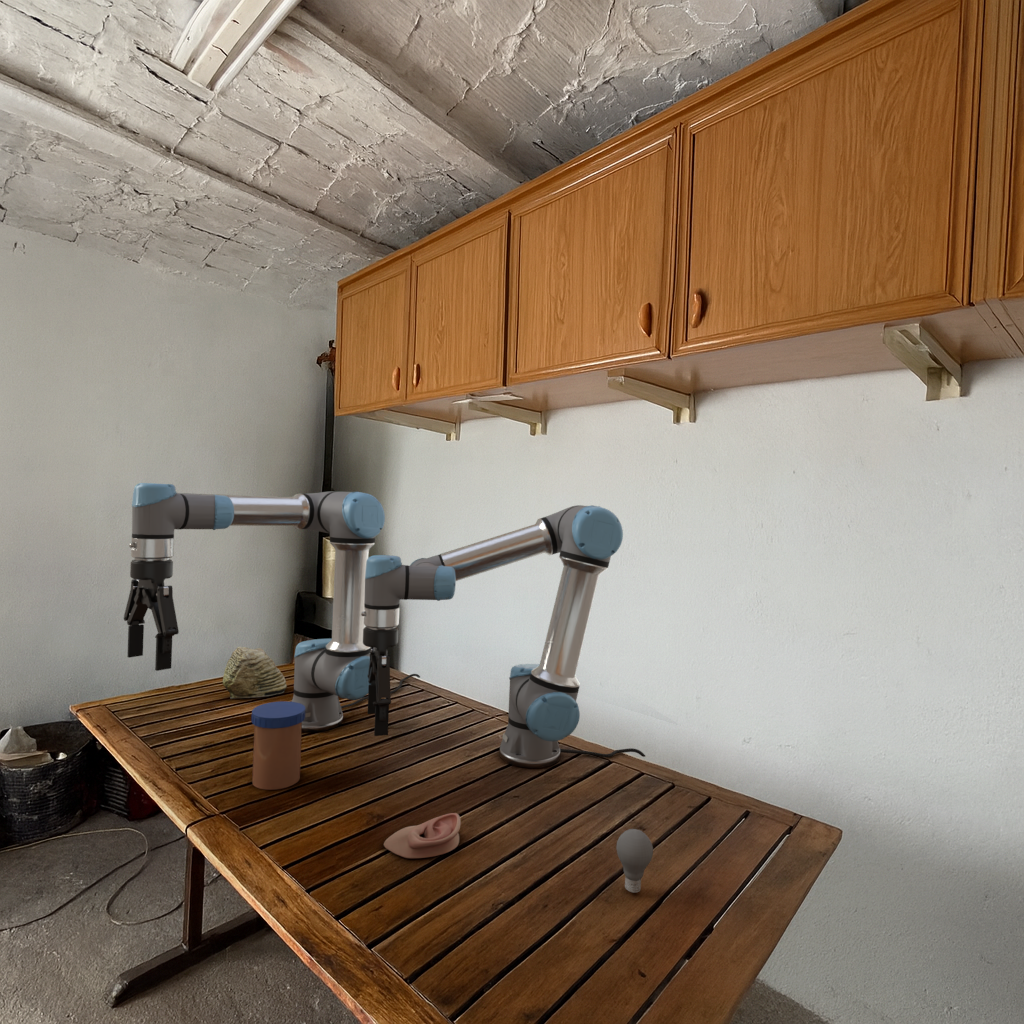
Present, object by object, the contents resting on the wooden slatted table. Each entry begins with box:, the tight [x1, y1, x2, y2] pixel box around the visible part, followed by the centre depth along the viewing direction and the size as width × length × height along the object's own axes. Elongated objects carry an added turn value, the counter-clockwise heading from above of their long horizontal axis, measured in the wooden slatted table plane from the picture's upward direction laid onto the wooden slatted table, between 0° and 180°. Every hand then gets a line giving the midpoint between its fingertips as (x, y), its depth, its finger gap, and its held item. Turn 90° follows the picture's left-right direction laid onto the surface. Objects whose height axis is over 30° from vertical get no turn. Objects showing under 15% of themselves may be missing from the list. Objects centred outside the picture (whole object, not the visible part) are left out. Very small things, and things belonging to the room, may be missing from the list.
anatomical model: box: [383, 812, 462, 859], centre depth 117 cm, size 13×4×12 cm
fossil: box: [222, 646, 288, 699], centre depth 198 cm, size 9×18×15 cm, turn 132°
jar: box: [251, 722, 303, 791], centre depth 141 cm, size 10×10×15 cm
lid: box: [250, 700, 305, 728], centre depth 141 cm, size 11×11×2 cm
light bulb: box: [615, 828, 654, 894], centre depth 106 cm, size 6×6×10 cm
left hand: (148, 662), depth 129 cm, fingers open, 13 cm apart
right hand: (377, 723), depth 138 cm, fingers open, 13 cm apart
